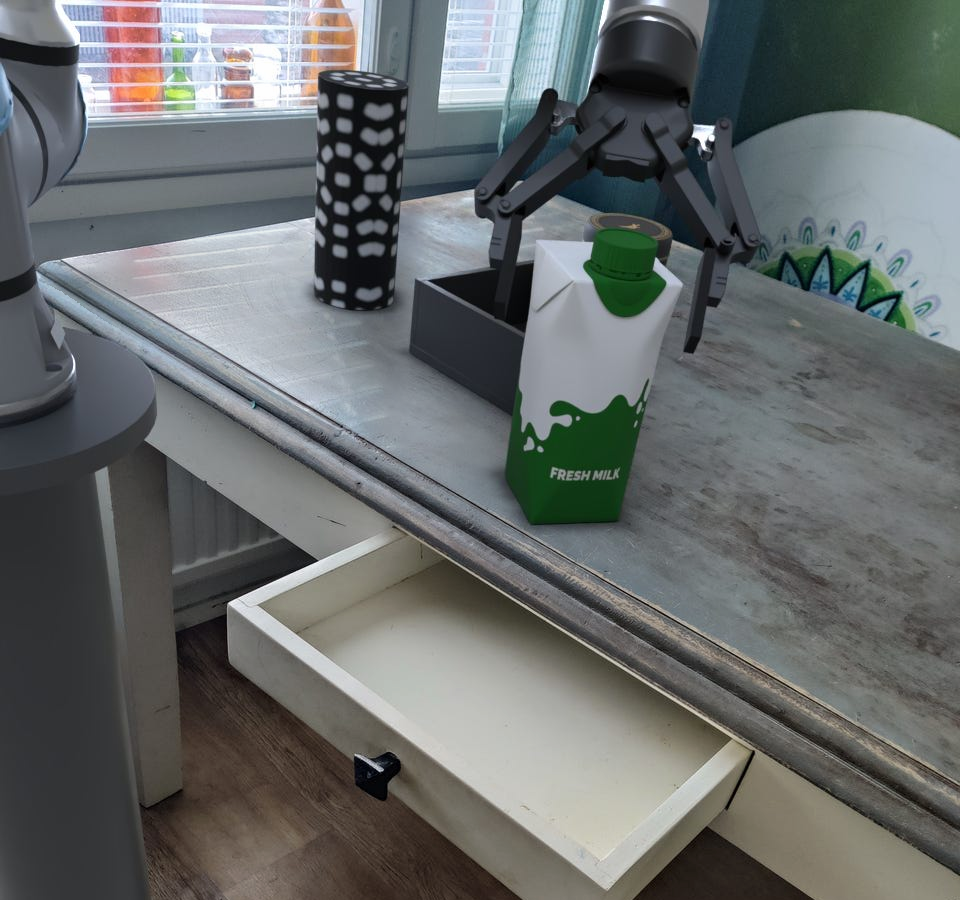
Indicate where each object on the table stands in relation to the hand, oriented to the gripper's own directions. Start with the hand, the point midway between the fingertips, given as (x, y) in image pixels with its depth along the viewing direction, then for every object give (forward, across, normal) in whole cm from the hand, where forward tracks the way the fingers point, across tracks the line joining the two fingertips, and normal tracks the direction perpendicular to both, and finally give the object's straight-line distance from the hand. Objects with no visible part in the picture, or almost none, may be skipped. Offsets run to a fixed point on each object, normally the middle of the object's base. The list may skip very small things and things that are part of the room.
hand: (595, 328), depth 69 cm
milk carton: (+10, 0, -8) cm, 13 cm away
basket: (-6, +6, -24) cm, 25 cm away
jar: (-24, -2, -43) cm, 49 cm away
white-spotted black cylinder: (-14, +25, -32) cm, 43 cm away
